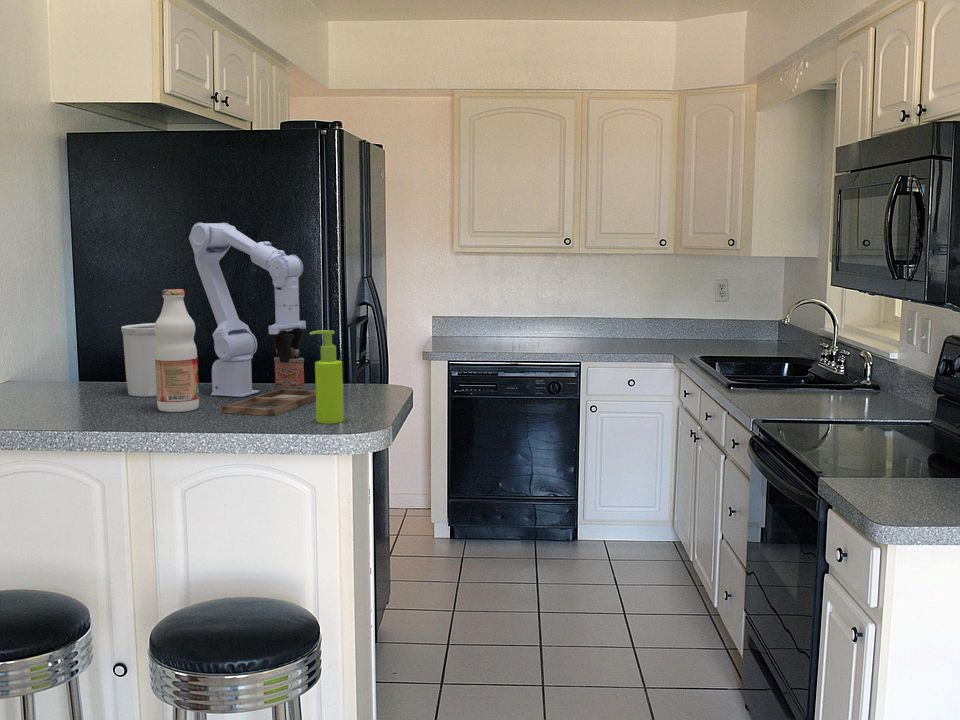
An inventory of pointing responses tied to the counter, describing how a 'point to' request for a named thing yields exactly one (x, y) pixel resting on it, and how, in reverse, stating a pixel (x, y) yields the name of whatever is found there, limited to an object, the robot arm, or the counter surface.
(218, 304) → the robot arm
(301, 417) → the counter surface
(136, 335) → the utensil holder
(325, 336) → the soap dispenser
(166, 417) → the counter surface
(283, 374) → the lighter
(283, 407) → the tray
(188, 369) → the fruit juice
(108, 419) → the counter surface
